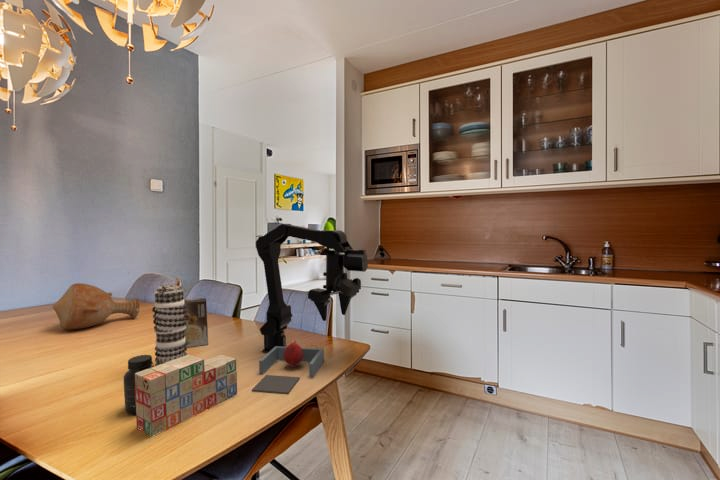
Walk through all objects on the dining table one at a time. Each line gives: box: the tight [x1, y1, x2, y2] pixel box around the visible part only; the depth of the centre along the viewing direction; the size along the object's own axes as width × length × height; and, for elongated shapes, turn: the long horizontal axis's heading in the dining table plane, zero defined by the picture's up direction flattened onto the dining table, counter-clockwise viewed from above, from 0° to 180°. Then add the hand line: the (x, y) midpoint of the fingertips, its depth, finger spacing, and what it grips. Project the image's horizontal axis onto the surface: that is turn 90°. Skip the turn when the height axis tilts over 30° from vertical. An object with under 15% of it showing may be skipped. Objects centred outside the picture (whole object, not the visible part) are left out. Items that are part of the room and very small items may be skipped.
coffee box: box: [184, 297, 209, 349], centre depth 126 cm, size 9×6×16 cm
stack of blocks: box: [135, 354, 238, 437], centre depth 81 cm, size 21×6×12 cm, turn 148°
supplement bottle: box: [123, 354, 155, 416], centre depth 82 cm, size 7×7×12 cm
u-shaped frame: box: [258, 346, 325, 379], centre depth 105 cm, size 16×12×4 cm
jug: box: [52, 282, 141, 331], centre depth 151 cm, size 20×19×30 cm
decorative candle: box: [151, 284, 188, 367], centre depth 105 cm, size 9×9×25 cm
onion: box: [283, 340, 303, 368], centre depth 106 cm, size 6×6×8 cm
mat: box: [251, 374, 301, 395], centre depth 94 cm, size 10×9×1 cm
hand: (334, 317), depth 112 cm, fingers open, 9 cm apart
